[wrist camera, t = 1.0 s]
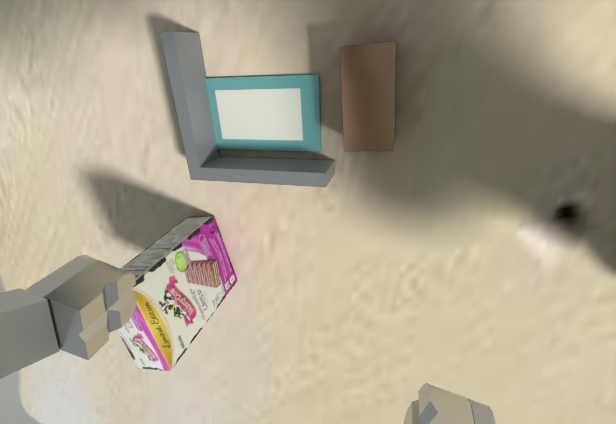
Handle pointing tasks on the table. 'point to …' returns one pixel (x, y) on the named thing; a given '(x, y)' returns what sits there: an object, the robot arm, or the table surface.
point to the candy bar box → (176, 292)
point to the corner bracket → (244, 120)
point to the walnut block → (369, 96)
